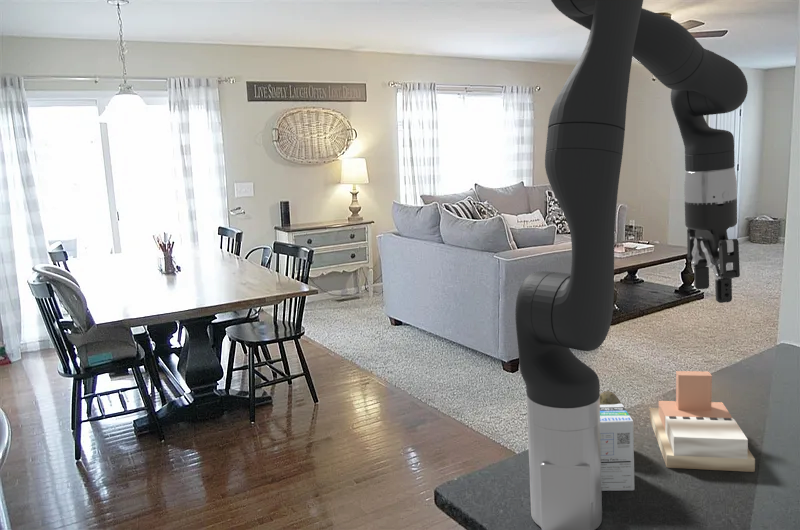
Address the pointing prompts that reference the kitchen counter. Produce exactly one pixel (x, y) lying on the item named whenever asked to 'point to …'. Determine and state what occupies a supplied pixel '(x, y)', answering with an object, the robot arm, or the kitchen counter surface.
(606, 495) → the kitchen counter surface
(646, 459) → the kitchen counter surface
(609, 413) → the light bulb box
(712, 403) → the stub
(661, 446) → the pad
